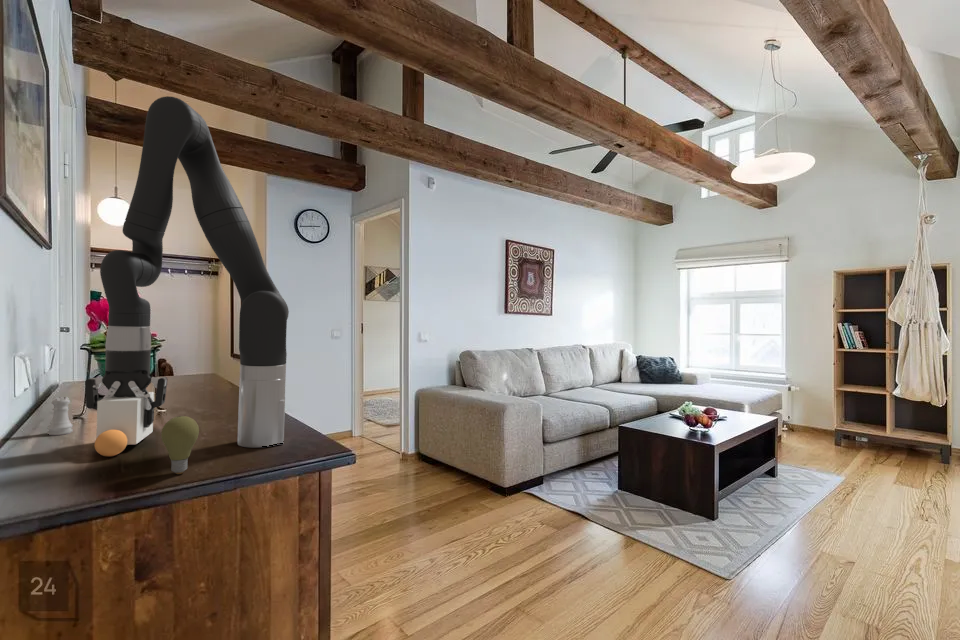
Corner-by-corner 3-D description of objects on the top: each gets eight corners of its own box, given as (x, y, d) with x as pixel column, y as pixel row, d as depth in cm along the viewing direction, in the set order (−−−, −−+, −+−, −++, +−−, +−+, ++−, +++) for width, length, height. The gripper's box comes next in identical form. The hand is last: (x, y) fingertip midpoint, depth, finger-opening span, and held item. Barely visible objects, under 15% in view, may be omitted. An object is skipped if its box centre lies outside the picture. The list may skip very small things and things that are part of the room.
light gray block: (152, 431, 105) (154, 391, 105) (136, 444, 94) (137, 400, 94) (116, 433, 102) (118, 392, 102) (95, 446, 92) (97, 401, 92)
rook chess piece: (57, 436, 103) (58, 399, 103) (40, 434, 104) (42, 398, 104) (78, 431, 108) (79, 396, 108) (62, 430, 108) (63, 395, 108)
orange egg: (132, 443, 95) (128, 423, 93) (125, 460, 91) (120, 439, 89) (102, 445, 93) (97, 425, 91) (93, 463, 89) (88, 442, 87)
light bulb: (174, 467, 85) (176, 412, 85) (204, 469, 85) (206, 413, 85) (151, 477, 80) (153, 418, 80) (184, 479, 80) (186, 420, 80)
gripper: (173, 347, 104) (171, 422, 104) (94, 346, 99) (91, 425, 99) (164, 349, 97) (161, 430, 97) (78, 348, 92) (75, 433, 92)
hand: (126, 427), depth 98 cm, fingers closed on light gray block, 6 cm apart
